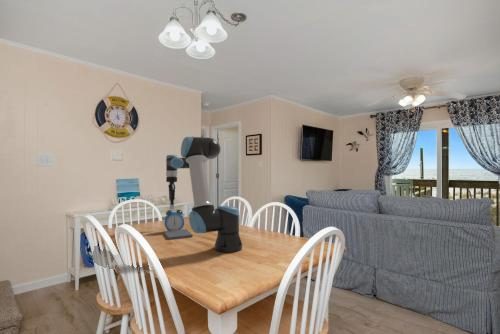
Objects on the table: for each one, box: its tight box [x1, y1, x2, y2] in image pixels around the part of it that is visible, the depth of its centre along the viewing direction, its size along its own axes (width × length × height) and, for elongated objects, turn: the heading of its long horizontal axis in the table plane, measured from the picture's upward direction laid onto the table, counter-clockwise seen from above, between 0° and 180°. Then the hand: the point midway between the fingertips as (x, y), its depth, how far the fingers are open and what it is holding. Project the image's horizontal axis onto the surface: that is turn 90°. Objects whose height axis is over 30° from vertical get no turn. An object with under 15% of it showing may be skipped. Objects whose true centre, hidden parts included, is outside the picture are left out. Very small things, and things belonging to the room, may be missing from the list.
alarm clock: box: [164, 209, 185, 231], centre depth 191 cm, size 13×6×15 cm, turn 107°
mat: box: [163, 228, 193, 241], centre depth 180 cm, size 16×15×2 cm
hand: (171, 209), depth 199 cm, fingers closed
